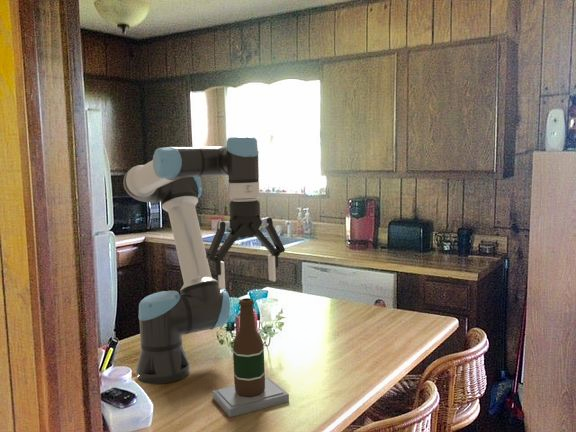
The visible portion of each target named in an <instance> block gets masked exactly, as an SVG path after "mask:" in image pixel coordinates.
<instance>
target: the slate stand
mask: <svg viewBox="0 0 576 432" xmlns="http://www.w3.org/2000/svg"><path fill="white" fill-rule="evenodd" d="M289 396H290V394H289V393H288V392H287V391H286V390H284V389H283V388H282V387H281V386H279V384H277V383H276V382H275V381H274V380H272V379H271V378H270V377H265V390H264V391H263V392H262V393H261V394H260V395H258V396H254V397H243V396H239V395H238V394H237V392H236V391H235V385H232V386H227V387H223V388H218V389H215V390H212V399H213V400H214V401H215V402H216V403H217V405H218V406H220V408H221V409H222V410H223V411H224V413H225V414H226V415H227V416H228V417H229V418H232V417H236V416H240V415H243V414H248V413H250V412H251V413H253V412H254V411H256V412H257V411H258V410H263V409H266V408H270V407H273V406H278V405H281V404H284V403H285V404H286V403H289V402H290V397H289Z"/></svg>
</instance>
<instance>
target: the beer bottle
mask: <svg viewBox="0 0 576 432" xmlns="http://www.w3.org/2000/svg"><path fill="white" fill-rule="evenodd" d="M254 304H255V301H254V299H252V298H249V297H245V298H241V299H239V302H238V305H239V310H240V311H239V328H238V329H239V330H238V332H237V334H236V335H235V336H234V339H233V343H232V354H233V355H232V356H233V357H232V358H233V359H232V360H233V379H234V380H233V381H234V386H235V391H236V392H237V394H238V395H239V396H243V397H254V396H258V395H260V394H261V393H262V392H263V391H264V390H265V378H266V376H265V373H266V372H265V348H264V341H263V339H262V337H261V335H260V334H259V333H260V332H259V331H257V328H256V327H257V326H256V324H255V323H256V322H255V314H254V313H255V311H254Z"/></svg>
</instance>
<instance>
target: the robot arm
mask: <svg viewBox="0 0 576 432" xmlns="http://www.w3.org/2000/svg"><path fill="white" fill-rule="evenodd" d="M216 176H217V177H218V176H227V179H228V180H227V182H228V198H229V199H230V200H231V201H229V203H228V204H229V205H228V206H229V221H223V220H218V221H217V226H216V232H215V234H214V236H213V239H212V241H211V243H210V246H209V249H208V250H207V251H206V248H205V242H204V241H203V240H204V238H203V235H202V231H201V227H200V223H199V222H200V221H199V217H198V214H197V208H196V207H197V204H198V203H199V198H200V197H201V196H202V193H203V192H202V191H203V189H202V180H201V177H216ZM259 177H260V174H259V150H258V140H257V139H256V137H254V136H231V137H228V138H227V140H226V146H223V145H222V146H218V145H216V146H193V147H192V146H187V147H186V146H179V147H178V146H167V147H166V146H165V147H158V148H156V149H155V151H154V154H153V156H152V159H151V161H148V162H147V163H145V164H139V165H136V166H132V167H131V168H130V169H129V170H128V171H127V172H126V173H125V175H124V177H123V188H124V191H126V193H127V194H128V196H130V197H131V198H132V199H134V200H137V201H139V202H144V203H157V202H158V203H160V204H161V207H162V210H163V211H165V212H167V214H168V217H169V221H170V227H171V230H172V231H171V232H172V235H173V241H174V245H175V249H176V254H177V259H178V263H179V267H180V268H179V269H180V271H181V275H182V276H181V277H182V280H183V285H182V286H181V288H180V290H179V291H180V293H179V292H178V291H177V290H167V291H165V290H162V291H158V292H154V293H152V294H149V295H146V296H145V297H144V298H143V299H141V300H140V302H139V304H138V322H139V333H140V334H139V336H140V337H139V338H140V353H139V357H138V361H137V365H136V369H135V372H136V374H139V375H140V376H139V377H138V378H137V377H136V379H137V380H138V381H140V382H141V383H143V384H151V385H159V384H161V385H162V384H168V383H173V382H177V381H179V380H181V379H183V378H185V377H186V376H188V375H189V374H190V371H191V368H190V361H189V358H188V357H187V354H186V351H185V349H184V345H183V335H185V336H186V335H189V334H194V333H199V332H204V331H208V330H211V331H212V330H214V329H216V328H220V327H224V325H226V324H227V322H228V321H229V317H230V313H231V300H230V294H229V292H228V291H227V289H226V272H225V261H222V260H223V259H224V257H225V256H226V254H227V253H228V251H230V248H232V247H233V245H234V244H235V242H236V241H237V240H238V239H239V238H240V239H244V238H247V237H248V238H254V237H256V238H257V240H258V241H259V242H260V244H262V245H263V246H264V248H265V249H266V250H268V252H269V253H270V254H267V268H268V281H271V282H276V281H277V280H276V279H277V276H276V275H277V274H276V272H277V271H276V268H278V267H279V256H280V255H281V254H282V253H285V251H286V248H285V246H284V245H283V243H282V241H281V238H280V237H279V234H278V233H277V231H276V229H275V227H274V224H273V218H272V217H270V216H265V217H264V218H261V206H260V205H261V203H260V201H259V200H258V199H259V198H260V179H259ZM262 225H263V227H265V230H266V232H267V233H268V235H269V237H270V239H271V241H272V242H270V240H269V239H267V237H266V236H265V235H264V233H263V232H262V230H260V228H261V226H262ZM228 228H230V230H231V231H230V232H229V234H228V236H227V237H226V239H225V240H224V242H223V243H222V245H221V242H222V240H223V239H224V238H223V237H224V235H225V233H226V231H227V230H228ZM272 243H273V244H272ZM220 245H221V247H220ZM209 261H210V262H213V266H214V269H213V270H214V274H215V276H217V277H218V278H217V279H218V280H217V279H216V278H213V277H212V273H211V270H210V264H209ZM136 374H135V375H136Z"/></svg>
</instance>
